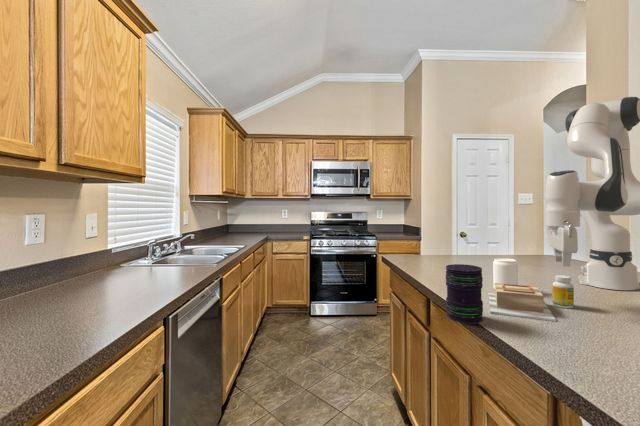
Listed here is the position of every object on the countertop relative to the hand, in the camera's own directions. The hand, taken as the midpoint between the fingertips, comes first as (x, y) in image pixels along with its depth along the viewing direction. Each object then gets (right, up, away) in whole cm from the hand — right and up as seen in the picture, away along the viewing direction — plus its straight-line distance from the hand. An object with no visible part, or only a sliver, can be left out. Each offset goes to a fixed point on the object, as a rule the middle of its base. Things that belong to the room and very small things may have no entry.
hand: (562, 263), depth 97 cm
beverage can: (-7, -14, +19) cm, 24 cm away
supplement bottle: (+1, -14, 0) cm, 14 cm away
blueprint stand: (-14, -14, +1) cm, 20 cm away
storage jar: (-35, -15, -8) cm, 39 cm away
